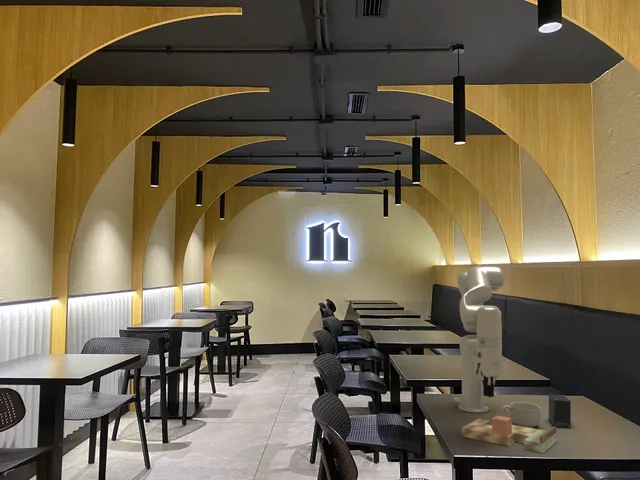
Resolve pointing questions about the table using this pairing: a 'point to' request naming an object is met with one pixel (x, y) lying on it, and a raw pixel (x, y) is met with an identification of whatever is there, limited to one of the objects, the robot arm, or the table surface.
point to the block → (502, 425)
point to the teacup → (523, 414)
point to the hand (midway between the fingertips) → (488, 396)
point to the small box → (559, 411)
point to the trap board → (512, 435)
